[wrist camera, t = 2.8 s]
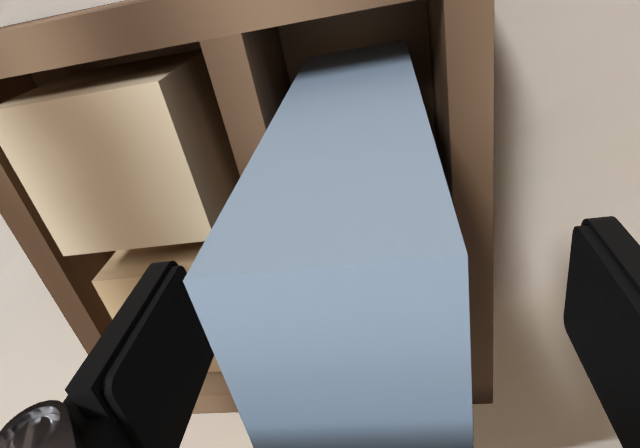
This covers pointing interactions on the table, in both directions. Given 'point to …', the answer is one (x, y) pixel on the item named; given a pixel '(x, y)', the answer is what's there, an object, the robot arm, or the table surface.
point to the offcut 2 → (139, 273)
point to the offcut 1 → (123, 154)
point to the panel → (342, 269)
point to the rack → (271, 114)
